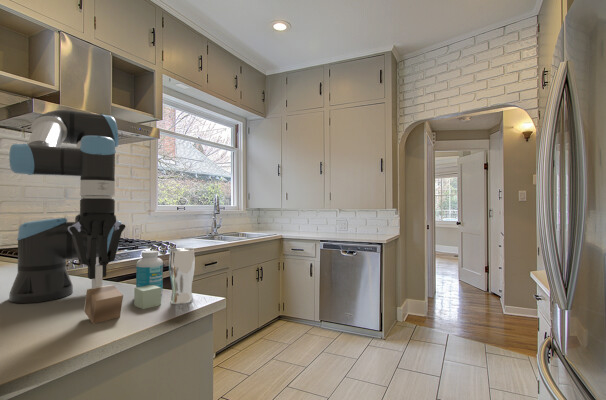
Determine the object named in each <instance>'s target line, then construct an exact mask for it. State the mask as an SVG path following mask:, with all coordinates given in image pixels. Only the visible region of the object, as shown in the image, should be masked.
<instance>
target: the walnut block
mask: <svg viewBox="0 0 606 400" xmlns="http://www.w3.org/2000/svg"><path fill="white" fill-rule="evenodd" d="M85 293H86V294H85V301H84V308H83V309H84V310H83V313H84V314H85V315H86V316H87V317H88V319H89V320H90V322H91V323H92V324H93V325H94V324H98V323H101V322H105V321H109V320H112V319H116V318H117V319H118V318H120V317H121V313H122V312H121V311H122V305H123V300H124V299H123V298H124V294H123V293H122V292H121V291H120V290H119V289H118V288H117V287H116V286H115V285H114V284H109V285H102V287H97V288H92V287H91V288H87V289H86V292H85Z"/></svg>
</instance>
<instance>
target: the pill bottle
mask: <svg viewBox="0 0 606 400" xmlns="http://www.w3.org/2000/svg"><path fill="white" fill-rule="evenodd" d="M158 256H159V251H158V250H144V251H141V257H142V258H140V259H139V260H138V261H137V262H136V264H135V265H136V266H135V268H136V269H135V270H136V273H135V275H136V277H135V288H137V287H142V286H148V285H155V286H158V287H161V295H162V294H163V290H164V289H163V288H164V285H163V284H164V283H163V281H164V277H163V276H164V261H163V259H161V258H160V257H158Z"/></svg>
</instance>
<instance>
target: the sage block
mask: <svg viewBox="0 0 606 400" xmlns="http://www.w3.org/2000/svg"><path fill="white" fill-rule="evenodd" d="M133 291H134V294H133V295H134V300H133V301H134V302H133V303H134V306H135V307H137V308H139V309H141V310H146V309H150V308H154V307H158V306H161V305H162V294H161V287H158V286H155V285H148V286H142V287H137V288H136V287H134V290H133Z"/></svg>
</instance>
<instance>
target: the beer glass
mask: <svg viewBox="0 0 606 400" xmlns="http://www.w3.org/2000/svg"><path fill="white" fill-rule="evenodd" d="M195 259H196V258H195V249H194V248H193V247H179V248H171V249H169V257H168V261H169V262H168V271H169V278H170V284H171V297H170V304H171V305H176V304H177V305H178V306H179V305H180V304H181V305H186V304H190V303H192V302H193V301H194V299H193V293H192V291H193V290H192V285H193V279H194V275H195V266H196V265H195V264H196V263H195V261H196V260H195Z"/></svg>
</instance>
